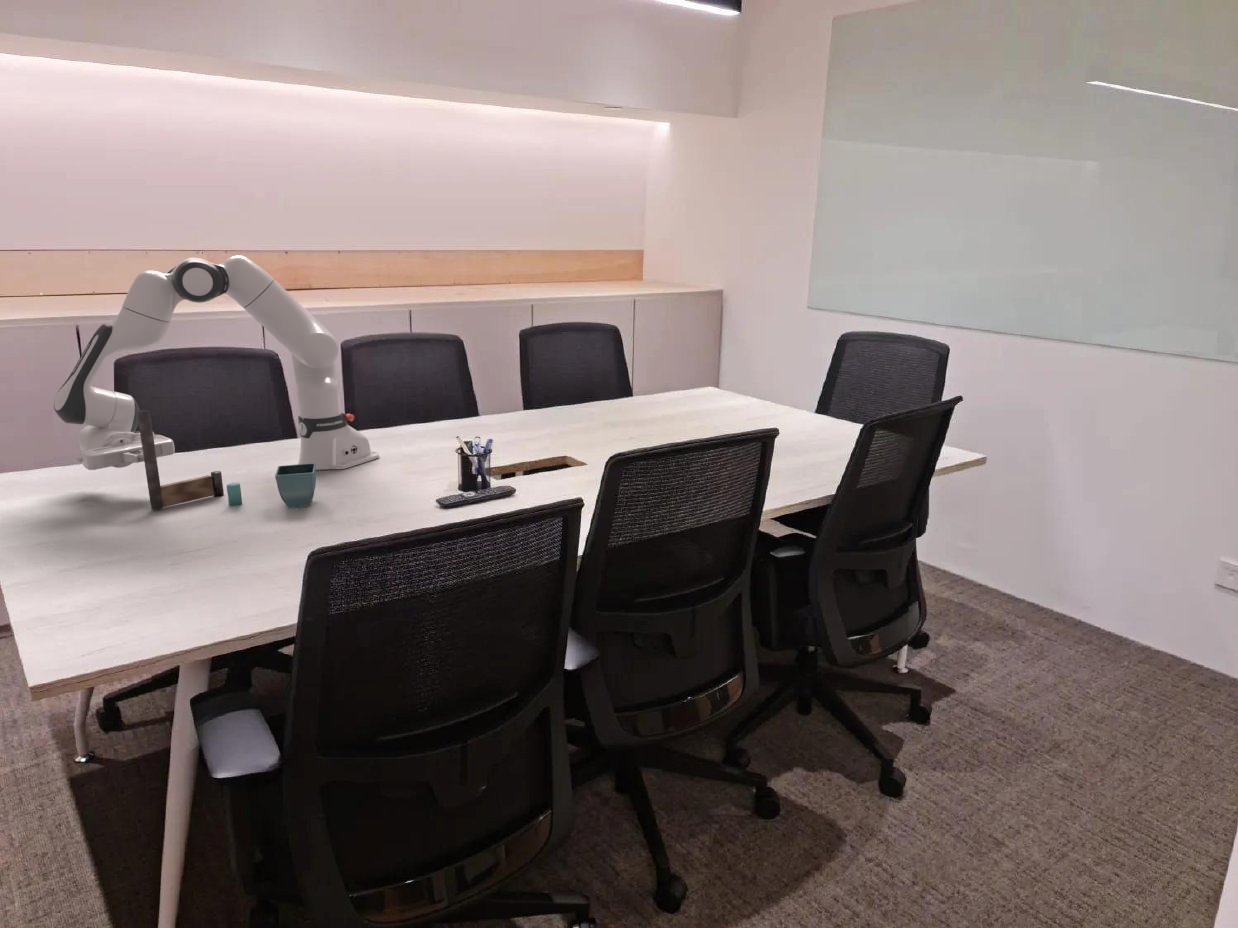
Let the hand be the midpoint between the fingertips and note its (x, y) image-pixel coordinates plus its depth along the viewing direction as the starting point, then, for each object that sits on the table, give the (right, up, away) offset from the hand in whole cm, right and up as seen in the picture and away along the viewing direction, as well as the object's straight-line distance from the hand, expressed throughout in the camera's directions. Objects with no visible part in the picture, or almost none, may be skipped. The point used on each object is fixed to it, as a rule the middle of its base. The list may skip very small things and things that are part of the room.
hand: (142, 458), depth 212 cm
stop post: (+20, -11, +4) cm, 24 cm away
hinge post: (+13, -9, +11) cm, 20 cm away
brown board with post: (+7, -11, +5) cm, 14 cm away
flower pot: (+36, -11, +5) cm, 38 cm away
